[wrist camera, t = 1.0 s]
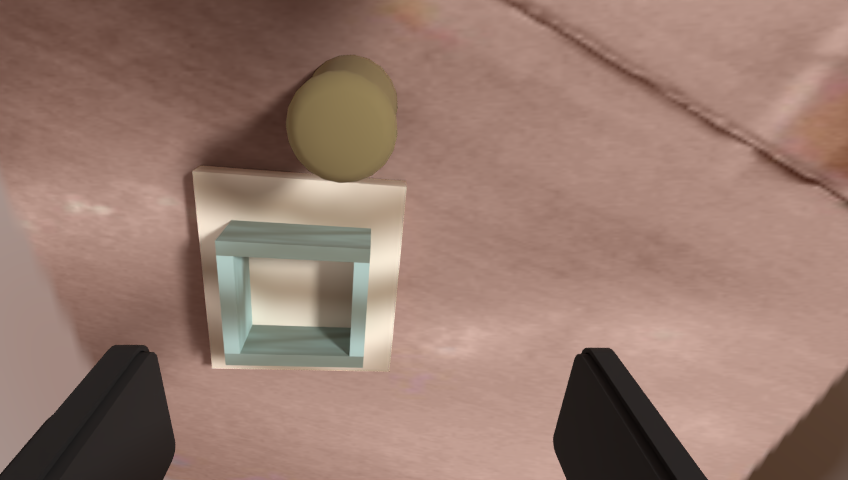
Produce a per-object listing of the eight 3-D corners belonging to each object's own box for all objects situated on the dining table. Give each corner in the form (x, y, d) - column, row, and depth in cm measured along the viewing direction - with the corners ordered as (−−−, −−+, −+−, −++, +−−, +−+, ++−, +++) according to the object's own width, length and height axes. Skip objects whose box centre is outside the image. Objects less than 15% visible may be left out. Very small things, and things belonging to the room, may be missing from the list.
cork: (305, 145, 31) (271, 195, 21) (305, 49, 28) (267, 54, 18) (393, 152, 31) (402, 204, 21) (401, 60, 29) (414, 70, 19)
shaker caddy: (200, 165, 30) (169, 187, 26) (405, 180, 32) (410, 203, 28) (218, 356, 37) (195, 400, 32) (388, 360, 39) (390, 402, 34)
